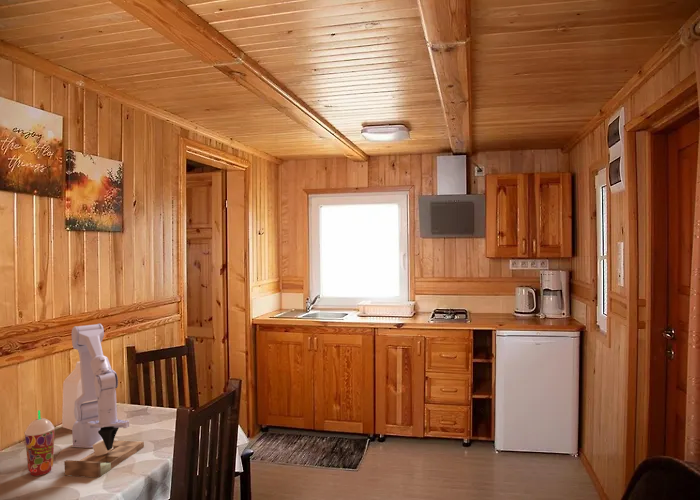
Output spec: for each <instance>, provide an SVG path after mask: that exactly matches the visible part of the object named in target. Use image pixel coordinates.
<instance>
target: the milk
mask: <svg viewBox="0 0 700 500" xmlns="http://www.w3.org/2000/svg"><path fill="white" fill-rule="evenodd" d="M81 395H82V383H81V370H80V360H79V361H76V363H75V367H74V369H73V370H72V371H71V372H70V373H69V374H68V376H67V377H65V379H64V380H63V382H62V410H61V412H62V414H61V416H62V419H61V427H62V428H63V429H67V430H71V431H72V428H73V425H74V423H75V422H76V419H75V415H74V408H75V401H76V399H77V398H79V397H80V396H81ZM92 401H97V399H96V400H92ZM92 401H87V402H83V403H88V402H92ZM83 403H82V404H83Z"/></svg>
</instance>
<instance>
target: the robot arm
mask: <svg viewBox="0 0 700 500" xmlns="http://www.w3.org/2000/svg"><path fill="white" fill-rule="evenodd" d="M104 336H105V330H104V326H103V324H102V323H97V324H96V323H95V324H88V325H86V324H85V325H79V326H76V325H75V326H73V327H72V329H71V345H72V348H73V349H74V350H77V351H78V356H79V358H78V359H79V361H80V370H81V383H82V395H81V396H80V397H79V398H77V399H76V401H75V408H74V415H75V419H76V422H75V423H74V425H73V428H72V430H71V432H72V445H71V446H70V447H71V448H83V449H85V448H86V449H87V448H88V449H93V446H92V445H94V444H95V443H97V442H98V441H100V440H103V441H104V443H105V446H106V448H107V450H110V449H112V447H113V442H114V441H115V437H116V435H117V432H118V430H119V429H120V428H122V429H128V428H129V427H130V420H124V419H118V411H117V410H118V408H117V406H118V405H117V390H116V389H118V386H119V377H118V374H117V372H116V371H115V370H114V369H112V366H111V362H110V360H109V357H107V356H106V355H104V352H103V347H102V342H103V339H104ZM96 399H97V401H92V400H96ZM87 401H92V402H88V403H83V402H87ZM82 403H83V404H82Z"/></svg>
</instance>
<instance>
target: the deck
mask: <svg viewBox="0 0 700 500" xmlns="http://www.w3.org/2000/svg"><path fill="white" fill-rule="evenodd" d="M113 448H114V449H112V450H111V451H109V452H108V453H106V454H103V455H100V456H96V455H95V452H94V451H93V452H92V453H90V454H89V455H87V456H85V457H83V458H82V459H80V460H74V459H73V460H72V459H69V460H68V459H67V460H65V461H64V462H63V463H64V464H63V465H64V476H65V475H72V476H71V477H81V476H85V477H84V478H100V477H101V476H103V475H104V474H107V472H109V471H110V470H112V469H113V468H115V467H116V466H118V465H120V464H121V463H122V462H124V461H125V460H127V459H129V458H130V457H131V456H133V455H135V454H137V452H139V451H141V450H142V449H143V448H145V444H144V441H138V440H137V441H135V440H114V442H113Z"/></svg>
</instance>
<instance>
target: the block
mask: <svg viewBox="0 0 700 500" xmlns="http://www.w3.org/2000/svg"><path fill="white" fill-rule="evenodd" d="M92 446H93V448H92V449H93V452H95V455H96V456H100V455H103V454H106V453H108V452H109V451H111V450H112V449H114V448H113V447H112V449H110V450H107V448H106V446H105V443H104V441H103V440H100V441H98V442H97V443H95V444H94V445H92Z"/></svg>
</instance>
